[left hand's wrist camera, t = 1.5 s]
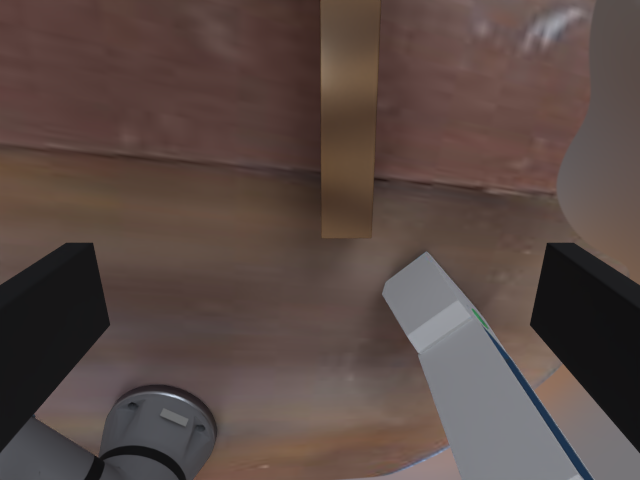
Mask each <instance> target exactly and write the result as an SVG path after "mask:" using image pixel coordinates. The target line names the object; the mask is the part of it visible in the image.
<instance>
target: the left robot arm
mask: <svg viewBox="0 0 640 480" xmlns="http://www.w3.org/2000/svg"><path fill="white" fill-rule="evenodd" d="M109 326H110V322H109V317H108V313H107V308H106V303H105V298H104V293H103V289H102V284H101V279H100V274H99V269H98V265H97V260H96V255H95V250H94V246H93V243H65V244H64V245H62V246H61V247H59V248H58V249H56V250H54V251H53V252H51V253H50V254H48V255H47V256H45V257H44V258H42V259H40V260H39V261H37V262H36V263H34V264H33V265H31V266H29V267H28V268H26V269H25V270H23V271H22V272H20V273H19V274H17V275H15V276H14V277H12V278H11V279H9V280H8V281H6V282H5V283H3V284H1V285H0V480H193V479H194V477H195V476H196V475H197V473H198V472H199V471H200V469H201V468H202V467H203V465H204V464H205V463H206V461H207V460H208V458H209V457H210V455H211V453H212V450H213V447H214V444H215V440H216V435H217V428H216V423H215V420H214V417H213V415H212V413H211V412H210V410H209V409H208V408H207V407H206V405H205V404H204V403H203V402H201V401H200V400H199V399H198V398H196V397H195V396H193V395H192V394H190V393H188V392H186V391H183V390H181V389H178V388H174V387H170V386H163V385H150V386H143V387H139V388H136V389H133V390H131V391H129V392H127V393H126V394H124V395H123V396H122V397H121V398H120V399H119V400H118V401H117V402H116V403H115V405H114V406H113V408H112V410H111V411H110V413H109V414H108V416H107V419H106V422H105V426H104V431H103V436H102V441H101V447H100V452H99V457H96V456H95V455H93V454H92V453H90V452H88V451H87V450H85V449H84V448H82V447H80V446H79V445H77V444H76V443H74V442H72V441H71V440H69V439H68V438H66V437H65V436H63V435H61V434H60V433H58V432H57V431H55V430H53V429H52V428H50V427H49V426H47V425H45V424H44V423H42V422H41V421H39V420H37V419H36V418H35V415H34V413H35V412H36V411H37V410H38V408H39V407H40V406H41V405H42V404H43V403H44V401H45V400H46V399H47V398H48V397H49V396H50V394H51V393H52V392H53V391H54V390H55V389H56V387H57V386H58V385H59V384H60V383H61V382H62V380H63V379H64V378H65V377H66V376H67V375H68V373H69V372H70V371H71V370H72V369H73V368H74V366H75V365H76V364H77V363H78V362H79V361H80V359H81V358H82V357H83V356H84V355H85V354H86V352H87V351H88V350H89V349H90V348H91V347H92V345H93V344H94V343H95V342H96V341H97V340H98V338H99V337H100V336H101V335H102V334H103V333H104V331H105V330H106V329H107V328H108V327H109ZM530 326H531V327H532V328H533V329H534V330H535V331H536V333H537V334H538V335H539V336H540V337H541V338H542V340H543V341H544V342H545V343H546V344H547V345H548V347H549V348H550V349H551V350H552V351H553V352H554V354H555V355H556V356H557V357H558V358H559V359H560V361H561V362H562V363H563V364H564V365H565V366H566V368H567V369H568V370H569V371H570V372H571V373H572V375H573V376H574V377H575V378H576V379H577V380H578V382H579V383H580V384H581V385H582V386H583V387H584V389H585V390H586V391H587V392H588V393H589V394H590V396H591V397H592V398H593V399H594V400H595V401H596V403H597V404H598V405H599V406H600V407H601V408H602V410H603V411H604V412H605V413H606V414H607V415H608V417H609V418H610V419H611V420H612V421H613V422H614V424H615V425H616V426H617V427H618V428H619V429H620V431H621V432H622V433H623V434H624V435H625V436H626V438H627V439H628V440H629V441H630V442H631V443H632V445H633V446H634V447H635V448H636V449H637V450H638V452H639V453H640V285H639V284H637V283H635V282H634V281H632V280H631V279H629V278H628V277H626V276H625V275H623V274H621V273H620V272H618V271H617V270H615V269H614V268H612V267H611V266H609V265H607V264H606V263H604V262H603V261H601V260H600V259H598V258H596V257H595V256H593V255H592V254H590V253H589V252H587V251H586V250H584V249H582V248H581V247H579V246H578V245H576V244H575V243H547V246H546V250H545V255H544V260H543V265H542V269H541V274H540V279H539V284H538V289H537V293H536V298H535V303H534V308H533V313H532V317H531V322H530Z"/></svg>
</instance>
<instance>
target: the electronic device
mask: <svg viewBox="0 0 640 480" xmlns="http://www.w3.org/2000/svg"><path fill="white" fill-rule="evenodd" d="M382 295H383V297H384V298H385V300H386V302H387V303H388V305H389V307H390V309H391V310H392V312H393V314H394V315H395V317H396V319H397V320H398V322H399V324H400V325H401V327H402V329H403V330H404V332H405V334H406V335H407V337H408V338H409V340H410V341H411V343H412V344H413V346H414V347H415V349H416V350H417V352H418V353H419V354H418V357H419V360H420V362H421V365H422V368H423V371H424V374H425V377H426V379H427V382H428V385H429V388H430V391H431V394H432V396H433V399H434V402H435V405H436V408H437V411H438V413H439V416H440V419H441V422H442V425H443V428H444V430H445V433H446V436H447V439H448V442H449V445H450V447H451V450H452V453H453V456H454V459H455V461H456V464H457V467H458V470H459V473H460V476H461V478H462V480H595V479H594V478H593V476H592V475H591V473H590V472H589V470H588V469H587V468H586V466H585V465H584V463H583V462H582V460H581V459H580V457H579V456H578V454H577V453H576V451H575V450H574V449H573V447H572V446H571V444H570V443H569V441H568V440H567V438H566V437H565V435H564V434H563V432H562V431H561V430H560V428H559V427H558V425H557V424H556V422H555V421H554V419H553V418H552V416H551V415H550V414H549V412H548V411H547V409H546V408H545V406H544V405H543V403H542V402H541V400H540V399H539V397H538V396H537V395H536V393H535V392H534V390H533V389H532V387H531V386H530V384H529V383H528V381H527V380H526V379H525V377H524V376H523V374H522V373H521V371H520V370H519V368H518V367H517V365H516V364H515V362H514V361H513V360H512V358H511V357H510V356H509V355H508V353H507V352H506V351H505V349H504V348H503V346H502V345H501V343H500V342H499V340H498V339H497V337H496V335H495V334H494V332H493V331H492V329H491V328H490V326H489V325H488V323H487V322H486V320H485V319H484V318H483V316H482V315H481V314H480V313H479V311H478V310H477V309H476V308H475V306H474V305H473V304H472V303H471V302H470V301H469V299H468V298H467V297H466V296H465V295H464V294H463V292H462V291H461V290H460V289H459V288H458V287H457V285H456V284H455V283H454V282H453V281H452V280H451V278H450V277H449V276H448V275H447V274H446V273H445V271H444V270H443V269H442V268H441V267H440V266H439V264H438V263H437V262H436V261H435V260H434V259H433V257H432V256H431V255H430V254H429V253H428V252H427V251H426V252H425V253H423V254H422V255H421V256H419V257H418V258H417V259H415V260H414V261H413V262H411V263H410V264H409V265H407V266H406V267H405V268H404V269H402V270H401V271H400V272H398V273H397V274H396V275H394V276H393V277H392V278H390V279H389V280H388V281H386V283H385V286H384V289H383V292H382Z"/></svg>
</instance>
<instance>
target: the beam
mask: <svg viewBox="0 0 640 480" xmlns="http://www.w3.org/2000/svg"><path fill="white" fill-rule="evenodd" d="M380 15H381V0H320V98H321V238H371V237H372V215H373V190H374V165H375V140H376V115H377V90H378V65H379V40H380Z"/></svg>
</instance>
